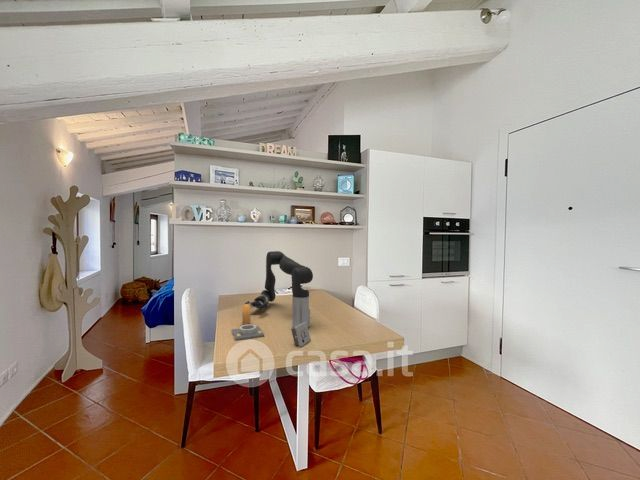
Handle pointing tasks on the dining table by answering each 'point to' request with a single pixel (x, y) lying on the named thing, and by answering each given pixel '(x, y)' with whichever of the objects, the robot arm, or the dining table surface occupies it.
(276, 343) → the dining table surface
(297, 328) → the electrical switch
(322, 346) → the dining table surface
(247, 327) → the grey square mounting plate
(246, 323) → the wire nut
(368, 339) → the dining table surface
